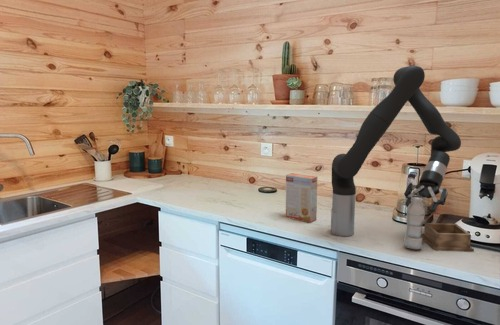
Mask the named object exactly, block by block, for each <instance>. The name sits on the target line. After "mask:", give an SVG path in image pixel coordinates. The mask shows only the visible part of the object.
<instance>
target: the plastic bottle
mask: <svg viewBox="0 0 500 325" xmlns="http://www.w3.org/2000/svg"><path fill="white" fill-rule="evenodd" d="M422 203H423V197H421V196H416V195H413V196H411V203H410V205H409V206H408V207H407V206H406V230H405V235H404V239H403V245H404V246H405V248H408V249H409V250H415V251H416V250H417V251H418V250H420V249H422V248H423V244H424V240H423V238H422V234H423V227H424V226H423V225H424V220H425V216H426V209H425V206H424V205H423V204H422Z"/></svg>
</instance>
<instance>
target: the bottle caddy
mask: <svg viewBox="0 0 500 325" xmlns="http://www.w3.org/2000/svg"><path fill="white" fill-rule="evenodd" d="M423 227H424V229H423V233H422V238H423V242H425V243H426V244H427V245H428V246H429V247H430V248H431V249H432V251H446V252H448V251H450V252H452V251H453V252H470V253H471V252H475V249H474V248H473V247H472V246H471V238H472V234H470V233H469V232H468V231H467V230H465V229H463V227H461V226H460V225H458V224H457V223H441V222H440V223H433V222H425V223H424V226H423Z"/></svg>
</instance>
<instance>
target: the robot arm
mask: <svg viewBox="0 0 500 325" xmlns="http://www.w3.org/2000/svg"><path fill="white" fill-rule="evenodd" d="M425 77H426V75H425V71H424V69H423V68H422V67H421V66H418V65H407V66H403V67H401V68H399V69H397V70H396V71H395V72H394V74H393V79H392V80H393V84H394V87H393V89H392V90H391V91H390V93H389V94H388V95H387V96H385V98H384V99H382V100H381V101H380V102H378V104H377V105H376V106H374V108H373V109H372V110H371V111H370V112H369V113H368V115H366V116H367V117H366V118H365V119H364V121H363V122H362V124H361V126H360V128H359V131H358V134H357V136H356V139H355V140H354V143H353V144H352V146H351V147H350V148H349V150H348V151H347V152H346V153H339V154H336V156H335V157H334V158H333V160H332V162H331V188H332V198H331V199H332V203H331V205H332V206H331V209H330V212H331V214H330V232H331V235H334V236H335V235H336V236H340V237H350V236H353V235H354V234H355V212H356V196H357V194H356V193H357V192H356V189H357V187H356V185H355V180H354V177H355V176H356V175H357V174H358V173H359V171H360V170H361V168H362V166H363V164H364V163H365V161H366V159H367V158H368V156H369V154H370V153H371V151H373V149H374V147H375V146H376V145H377V143H378V142H379V141H380V139H381V138H382V137H383V135H384V134H385V133H386V132H387V130H388V129H389V128H390V126H391V125H392V123H393V122H394V120H395V119H396V118H397V116H398V115H399V114H400V112H401V110H402V109H403V108H404V106H405V105H406V104H407V102H409V104H410V105H411V107H412V108H413V109H414V111H415V112H416V114H417V115H418V117H419V118H420V120H421V122H422V123H423V126H424V127H425V129H426V131H427V132H428V134H430V135H435V137H434V138H433V139H432V140H431V146H430V156H429V159H428V161H427V164H426V165H425V167H424V169H423V171H422V174H421V177H420V179H419V180H418V183H417V184H413V183H412V182H409V184H408V186H407V187H406V189H405V191H404V197H405V199H406V202H405V206H406V208H407V207H408V206H409V205H410V203H411V196H413V195H416V196H421V197H422V198H426V199H432V203H431V205H430V208H429V213H431V214H434V213H436V211H437V209H438V206H439V205H441V206H444V205H445V204H446V200H447V197H448V190H447V188H445V187H443V188H441V186H442V183H443V181H444V179H445V175H446V172H447V168H448V166H449V163H450V161H451V156H450V155H449V154H448V153H449V152H454V151H458V150H459V149H460V148H461V145H462V141H461V138H460V135H459V134H458V133H457V132H456V131H454V129H452V128H451V127H450V126H449V125H448V124H447V123H446V122H445V120H444V118H443V116H442V115H441V113H440V111H439V110H438V109H437V108H436V106H435V105H434V104H433V103H432V102H431V101H430V100H429V99H428V98H427V97H426V96H425V95H424V93H423V92H422V91H421V89H420V88H421V87H422V85H423V83H424V81H425ZM436 135H437V136H436ZM438 194H440V198H439V199H437V195H438Z"/></svg>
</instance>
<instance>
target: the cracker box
mask: <svg viewBox="0 0 500 325" xmlns="http://www.w3.org/2000/svg"><path fill="white" fill-rule="evenodd" d="M317 206H318V176H316V175H307V174H301V173H288V174H285V218H289V217H290V219H293V218H294V219H293V220H298V221H303V222H307V223H312V222H315V221H317V216H318V215H317V212H318V210H317V209H318V207H317Z"/></svg>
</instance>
